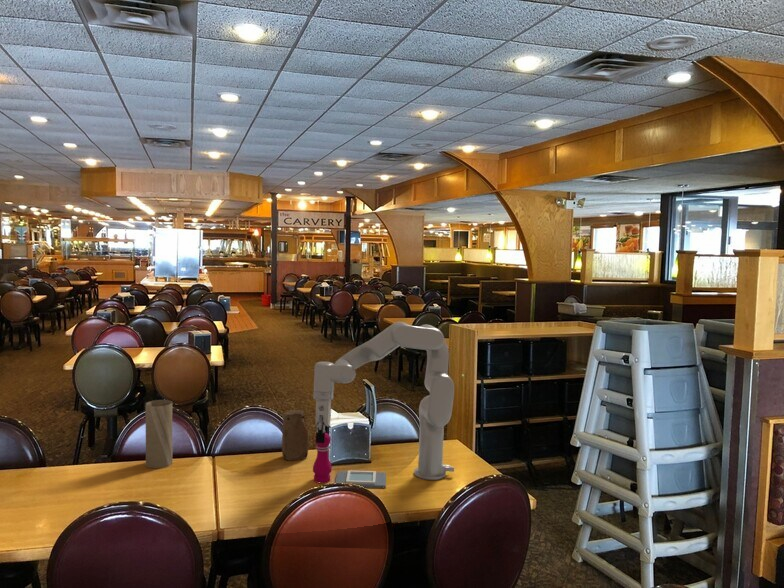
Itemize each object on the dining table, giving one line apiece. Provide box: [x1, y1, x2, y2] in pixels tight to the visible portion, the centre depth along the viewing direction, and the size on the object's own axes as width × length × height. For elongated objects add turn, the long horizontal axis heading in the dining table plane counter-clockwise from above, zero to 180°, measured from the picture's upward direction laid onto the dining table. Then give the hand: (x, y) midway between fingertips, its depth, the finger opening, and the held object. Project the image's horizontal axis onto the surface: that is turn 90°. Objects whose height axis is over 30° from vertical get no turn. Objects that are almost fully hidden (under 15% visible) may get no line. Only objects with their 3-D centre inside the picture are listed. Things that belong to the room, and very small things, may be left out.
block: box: [281, 409, 309, 462], centre depth 259 cm, size 11×8×20 cm
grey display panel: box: [334, 470, 387, 489], centre depth 238 cm, size 19×13×2 cm
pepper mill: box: [312, 430, 333, 484], centre depth 236 cm, size 7×7×20 cm
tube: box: [145, 399, 173, 470], centre depth 248 cm, size 10×10×25 cm
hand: (321, 438), depth 236 cm, fingers open, 9 cm apart
